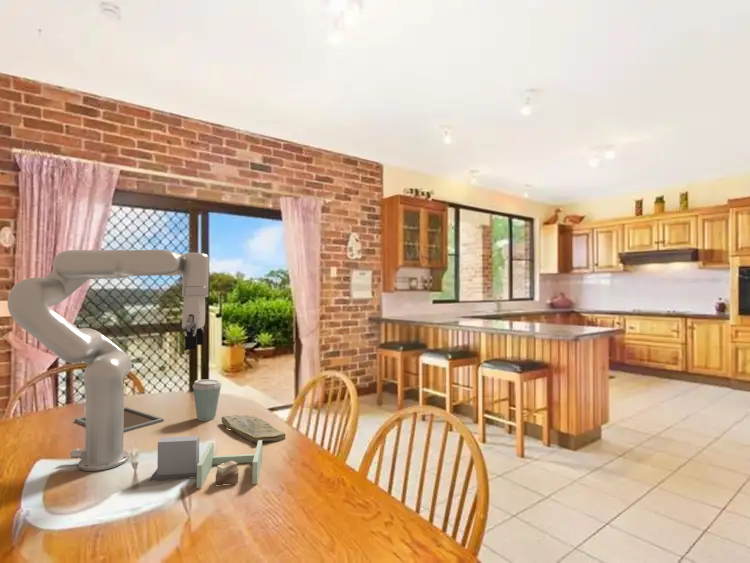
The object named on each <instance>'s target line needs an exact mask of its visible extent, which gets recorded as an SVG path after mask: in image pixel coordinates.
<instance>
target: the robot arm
mask: <svg viewBox="0 0 750 563" xmlns="http://www.w3.org/2000/svg"><path fill="white" fill-rule="evenodd" d="M209 265H210V258H209V255H208V254H206V253H204V252H187V253H178V252H174V251H173V250H168V249H130V250H129V249H127V250H125V249H85V250H84V249H72V250H71V249H69V250H64V251H62V252H59V253H57V255H56V256H54V258H53V260H52V268H53V270H52V272H50V273H49V274H48V275H47V276H45V277H29V278H25V279H22V280H20V281H18V282H17V283H15V285H13V286H12V288H11V289H10V291H9V294H8V297H7V310H8V312H9V315H10V317H11V318H12V319H13V321H14V322H15V323H16V324H17V325H18V326H19V327H20V328H21V329H23V330H24V331H25V332H26V333H28V334H29V335H31V337H33V338H35V339H36V340H37V341H38V342H39V343H40V344H42V345H43V346H44V347H46V348H47V349H49V351H51V352H52V353H54V354H55V355H56V357H59V358H60V359H61V360H63V361H64V362H65V363H69V364H79V363H85V364H86V365H87V366H86V368H85V371H84V374H83V384H84V385H83V386H84V391H85V392H84V393H85V416H86V426H85V438H84V439H85V440H84V441H85V444H84V446H85V447H83V448H73V449H71V451H70V454H69V455H70V459H80V460H79V461H78V468H79V469H80V470H82V471H87V472H95V471H97V472H98V471H105V470H108V469H112V468H115V467H118V466H121V465H123V464H126V462H127V461H129V459H130V453H129V451H126V450H124V435H125V432H124V407H125V393H124V385H123V382H124V380H123V379H125V377H127V376H128V375H129V373H130V372H131V370H132V365H133V364H132V360H131V357H130V356H129V354H128V353H126V352H125V351H124V350H123V349H122V348H120V347H119V346H118V345H116V343H114V342H112V341H111V340H110V338H107V336H105V335H104V334H103V333H101V332H100V331H98V330H96V329H93V328H90V327H89V328H87V327H84V328H83V327H81V328H78V327H77V326H75V325H74V324H72V323H71V322H70V321H69V320H68V319H66V318H65V317H64V316H62V315H61V314H60V313H58V312H56V311H54V310H53V309H52V308H50V307H53V306H57V305H58V304H60V303H62V302H63V301H65V300H66V299H67V298H69V297H70V296H71V295H72V294H74V293H75V292H76V291H77V290H78V289H79V288H80V287H82V286H83V285H84V284H85V283H87V281H89V280H99V279H100V280H105V279H125V278H127V277H128V278H129V277H139V276H140V277H146V276H147V277H149V276H151V277H152V276H165V277H166V276H167V277H175V276H182V288H181V289H182V290H181V291H182V292H181V293H182V294H181V297H182V298H184V299H183V305H182V319H181V320H182V321H181V328H182V330H185V334H184V350H188V351H189V350H193V351H194V350H196V349H197V348H198V347H197V346H203V345H204V344H205V343H204V342H205V340H204V339H205V338H204V336H205V329H204V326H205V324H206V298H208V297H209V277H210V276H209V273H210V272H209V269H210V268H209V267H210V266H209Z"/></svg>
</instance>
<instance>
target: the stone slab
mask: <svg viewBox="0 0 750 563" xmlns="http://www.w3.org/2000/svg"><path fill="white" fill-rule="evenodd" d="M220 419H221V423H223V425H222V426H224V425H225V426H226V427H225V426H224V427H225V429H226V428H228V429H231V430H234V431H233V432H235V433H236V434H237V435H239V434H240V437H242V436H243V438H244V439H246V440H248V439H249V440H248V441H250V440H251V442H252V441H253V443H255V442H256V444H257V443H258V440H262V443H264V442H271V441H272V442H273V441H274V442H278V440H279V441H282V440H285V439H286V433H285V432H284V431H282V430H279V429H277V428H276V427H274V426H273V425H271V423H270V422H267V421H265V420H263V419H262V418H259V417H257V416H255V415H250V414H249V415H247V414H246V415H245V414H243V415H240V414H239V415H238V414H234V415H227V416H226V415H225V416H221V418H220ZM231 430H230V431H231ZM263 441H264V442H263Z"/></svg>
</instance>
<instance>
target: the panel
mask: <svg viewBox="0 0 750 563" xmlns="http://www.w3.org/2000/svg"><path fill="white" fill-rule="evenodd" d="M190 477H197V472H196V473H185V474H169V475H157V468H156V470H155V471H154V473H152V474H151V476H150V478H149V481H148V482H152V480H156V481H168V479H171V480H184V478H186V479H191V478H190Z"/></svg>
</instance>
